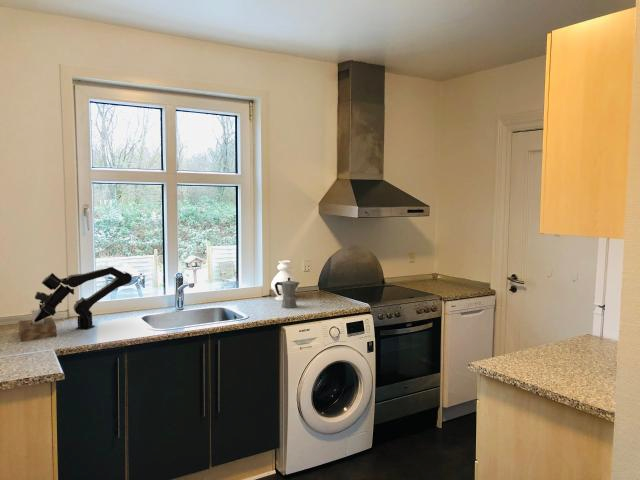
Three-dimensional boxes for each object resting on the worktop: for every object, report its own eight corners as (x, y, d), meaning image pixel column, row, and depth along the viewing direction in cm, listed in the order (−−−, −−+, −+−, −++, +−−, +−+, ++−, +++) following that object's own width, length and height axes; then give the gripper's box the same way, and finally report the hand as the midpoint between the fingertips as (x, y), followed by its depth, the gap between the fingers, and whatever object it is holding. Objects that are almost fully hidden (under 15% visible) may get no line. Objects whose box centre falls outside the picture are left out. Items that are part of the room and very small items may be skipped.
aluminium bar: (43, 328, 251) (42, 308, 250) (44, 330, 247) (43, 310, 246) (32, 329, 248) (31, 309, 247) (32, 332, 244) (31, 311, 243)
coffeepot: (298, 304, 312) (298, 276, 311) (301, 307, 303) (300, 278, 301) (273, 305, 309) (273, 277, 307) (275, 309, 300) (275, 279, 298)
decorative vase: (274, 295, 340) (273, 259, 338) (300, 296, 339) (299, 259, 336) (268, 301, 323) (268, 262, 321) (296, 301, 321) (295, 263, 319)
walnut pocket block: (52, 327, 260) (52, 317, 259) (56, 336, 243) (56, 325, 243) (18, 331, 252) (18, 321, 251) (20, 341, 235) (20, 330, 235)
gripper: (43, 283, 255) (19, 307, 250) (46, 288, 240) (21, 314, 235) (61, 296, 260) (38, 320, 255) (65, 302, 245) (41, 328, 240)
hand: (34, 320), depth 246 cm, fingers closed on aluminium bar, 5 cm apart
